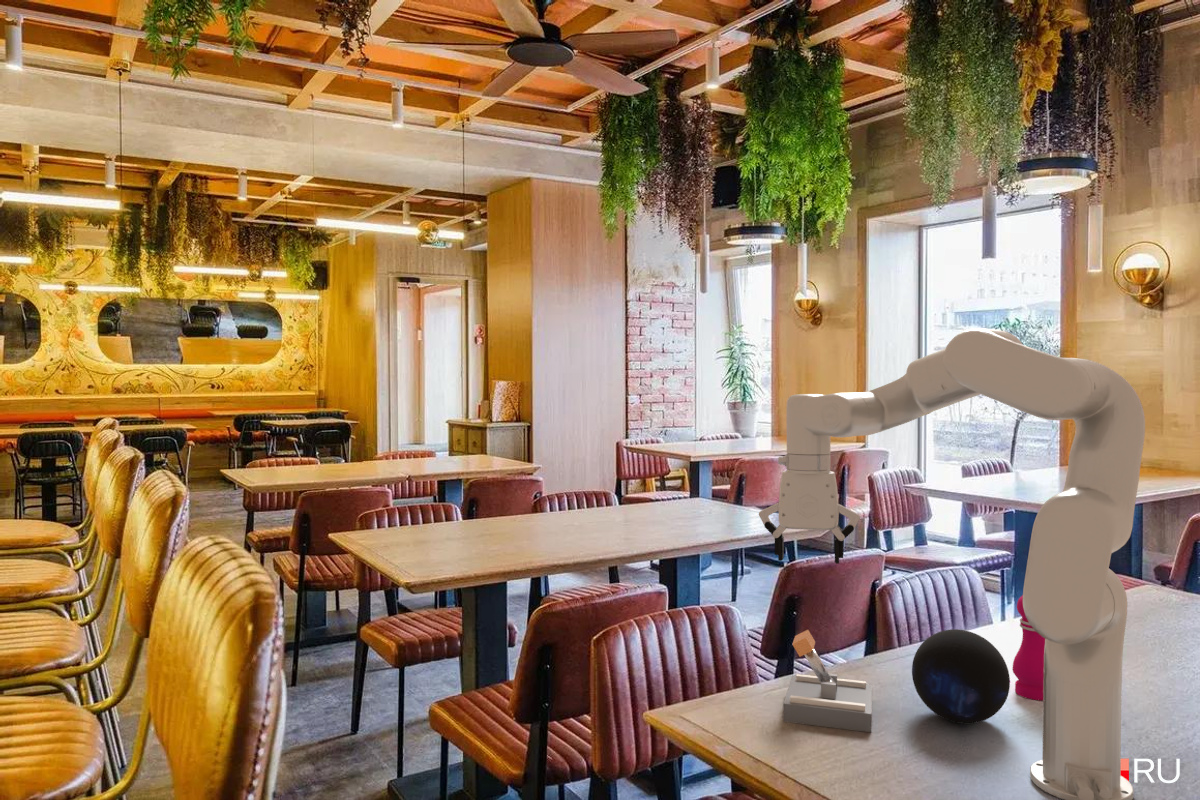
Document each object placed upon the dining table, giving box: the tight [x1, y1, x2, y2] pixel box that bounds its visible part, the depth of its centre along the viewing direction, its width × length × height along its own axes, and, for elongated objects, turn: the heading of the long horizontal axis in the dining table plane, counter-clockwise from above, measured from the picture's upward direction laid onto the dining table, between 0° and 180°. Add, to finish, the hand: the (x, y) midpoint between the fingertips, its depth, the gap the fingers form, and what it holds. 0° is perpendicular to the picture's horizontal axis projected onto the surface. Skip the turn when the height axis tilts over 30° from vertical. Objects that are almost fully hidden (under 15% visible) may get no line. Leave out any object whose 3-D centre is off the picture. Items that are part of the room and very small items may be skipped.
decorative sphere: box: [911, 628, 1011, 725], centre depth 142 cm, size 15×15×15 cm
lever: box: [792, 629, 836, 683], centre depth 146 cm, size 5×3×10 cm
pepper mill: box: [1012, 594, 1045, 702], centre depth 153 cm, size 7×7×20 cm
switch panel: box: [782, 673, 873, 733], centre depth 146 cm, size 14×14×6 cm
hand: (808, 560), depth 149 cm, fingers open, 9 cm apart
